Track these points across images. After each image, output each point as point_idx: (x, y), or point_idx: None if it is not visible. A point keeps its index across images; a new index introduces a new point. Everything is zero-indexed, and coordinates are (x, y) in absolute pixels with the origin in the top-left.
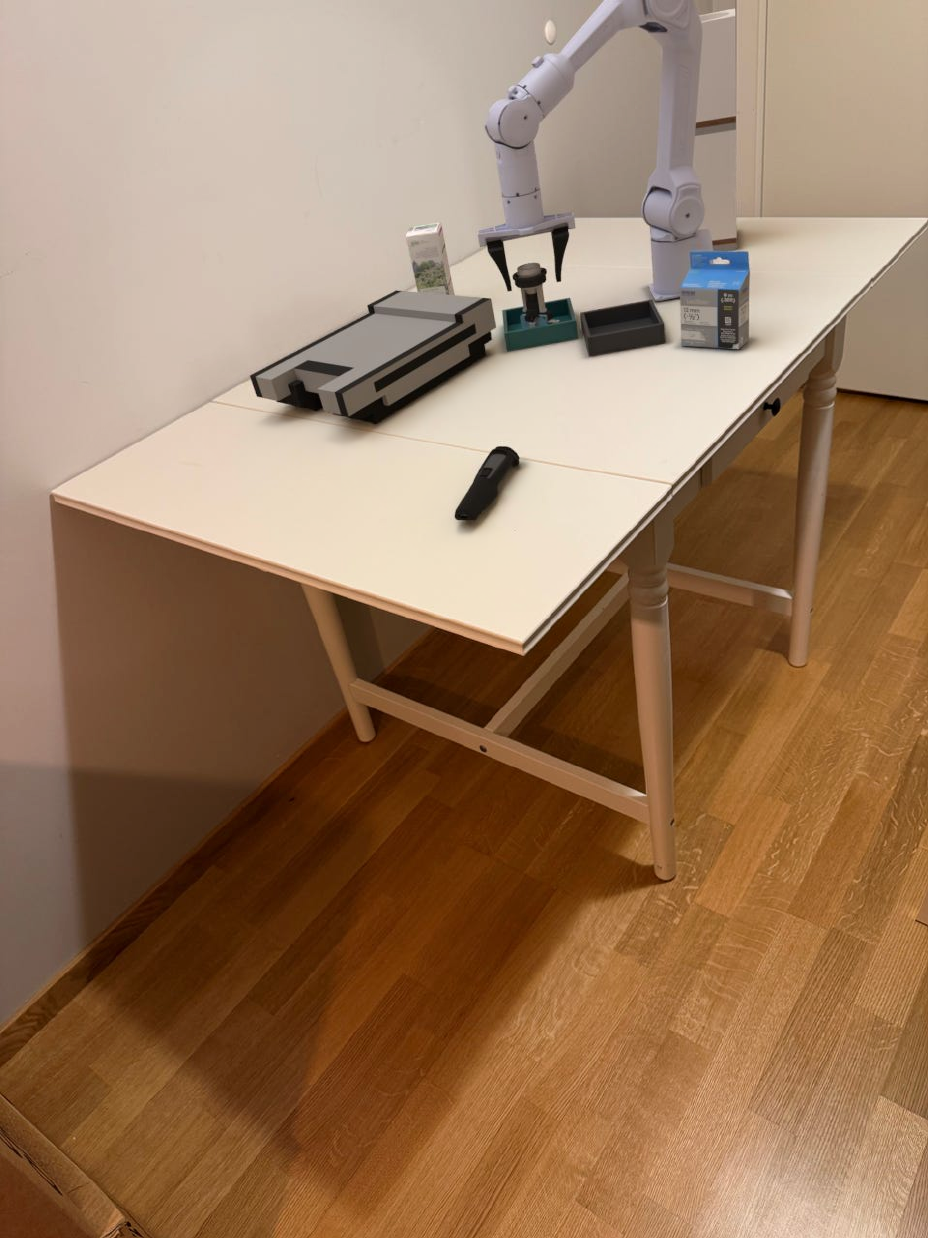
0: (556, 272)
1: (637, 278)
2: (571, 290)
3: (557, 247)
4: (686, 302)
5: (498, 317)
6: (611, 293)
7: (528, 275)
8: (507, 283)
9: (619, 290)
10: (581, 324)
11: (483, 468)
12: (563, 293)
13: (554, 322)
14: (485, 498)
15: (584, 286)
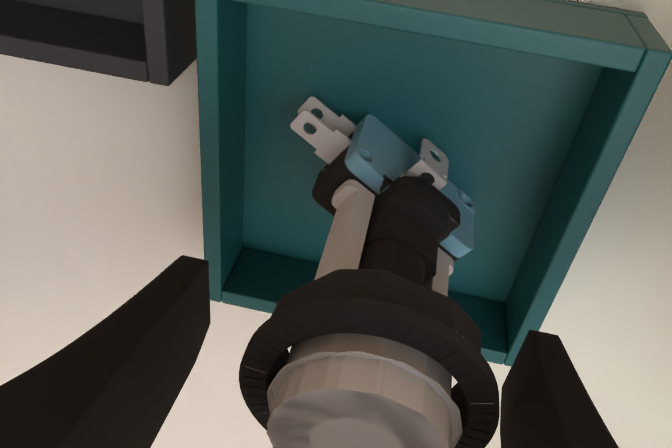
0: (174, 296)
1: (9, 372)
2: (213, 423)
3: (15, 439)
4: None
5: (500, 400)
6: (84, 327)
7: (388, 358)
8: (566, 374)
9: (58, 331)
10: (187, 22)
11: None
12: (240, 420)
13: (313, 203)
14: None
15: (171, 422)
